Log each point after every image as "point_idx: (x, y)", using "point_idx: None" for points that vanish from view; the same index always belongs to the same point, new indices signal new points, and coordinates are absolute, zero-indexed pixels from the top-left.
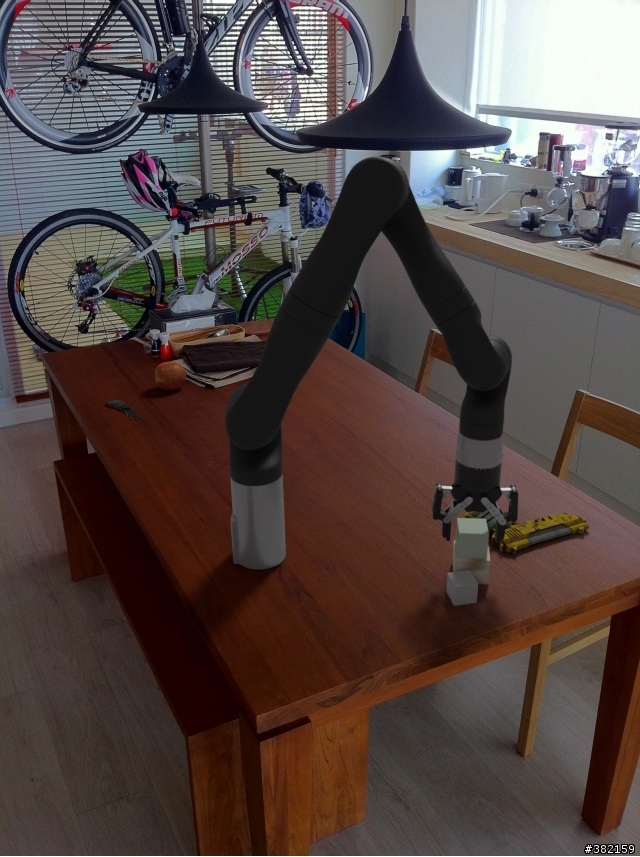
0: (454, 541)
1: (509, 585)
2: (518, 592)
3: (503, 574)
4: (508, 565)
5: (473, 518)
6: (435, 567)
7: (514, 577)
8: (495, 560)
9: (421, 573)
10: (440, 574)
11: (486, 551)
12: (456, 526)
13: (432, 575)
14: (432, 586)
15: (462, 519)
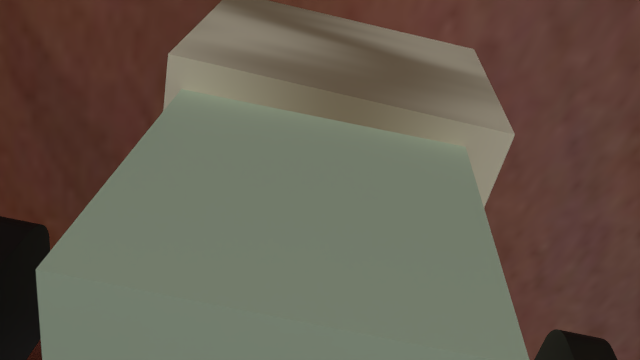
0: (173, 77)
1: (524, 270)
2: (542, 325)
3: (544, 172)
4: (637, 82)
5: (321, 325)
6: (103, 31)
7: (598, 209)
8: (574, 5)
9: (8, 84)
10: (132, 112)
11: None
12: (103, 195)
13: (80, 115)
14: (77, 212)
15: (125, 326)
